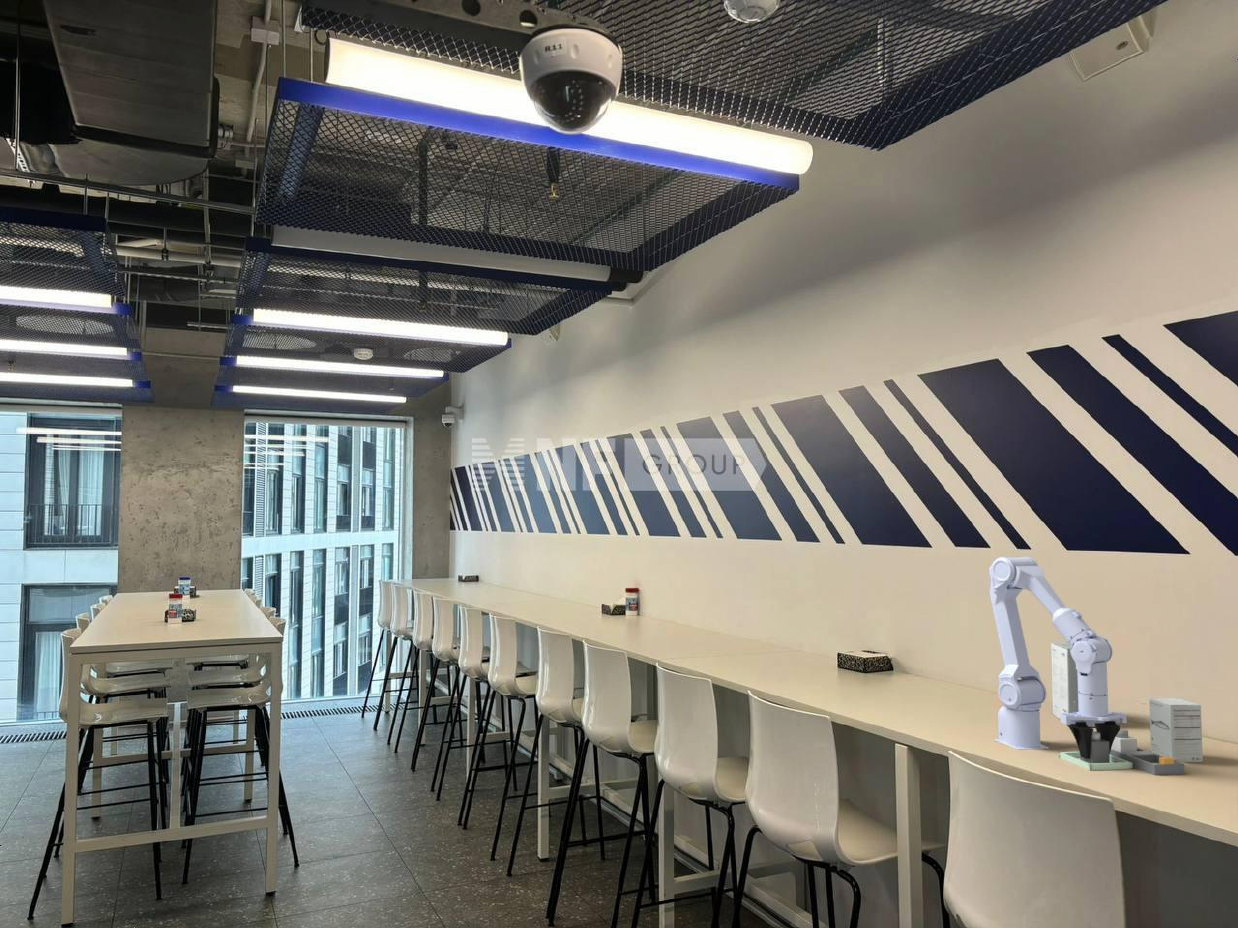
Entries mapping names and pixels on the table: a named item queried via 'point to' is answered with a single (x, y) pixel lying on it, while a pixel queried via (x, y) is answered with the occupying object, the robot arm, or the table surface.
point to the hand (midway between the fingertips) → (1094, 757)
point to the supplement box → (1176, 729)
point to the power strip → (1151, 762)
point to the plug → (1098, 750)
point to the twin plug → (1124, 742)
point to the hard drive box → (1064, 680)
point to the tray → (1113, 765)
